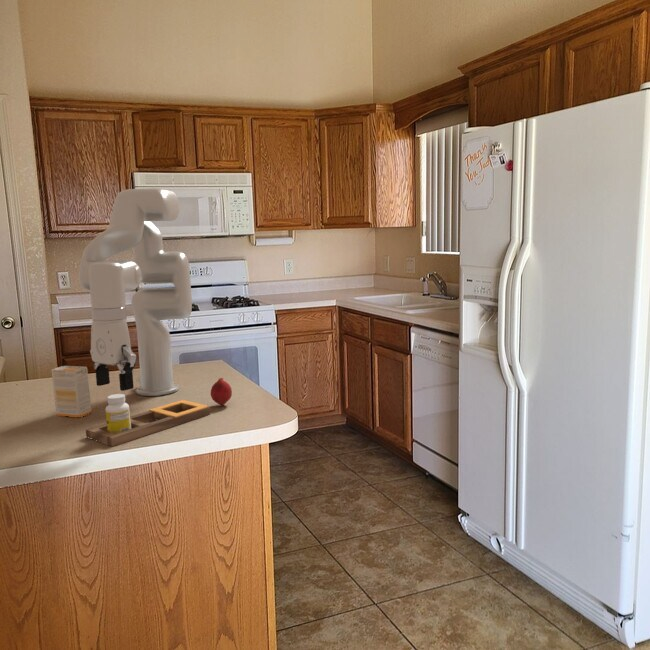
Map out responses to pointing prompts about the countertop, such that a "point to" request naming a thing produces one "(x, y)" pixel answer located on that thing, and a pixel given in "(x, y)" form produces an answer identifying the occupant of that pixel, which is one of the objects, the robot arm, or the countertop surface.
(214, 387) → the onion
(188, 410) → the socket rail
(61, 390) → the supplement box
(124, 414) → the supplement bottle
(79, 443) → the countertop surface
